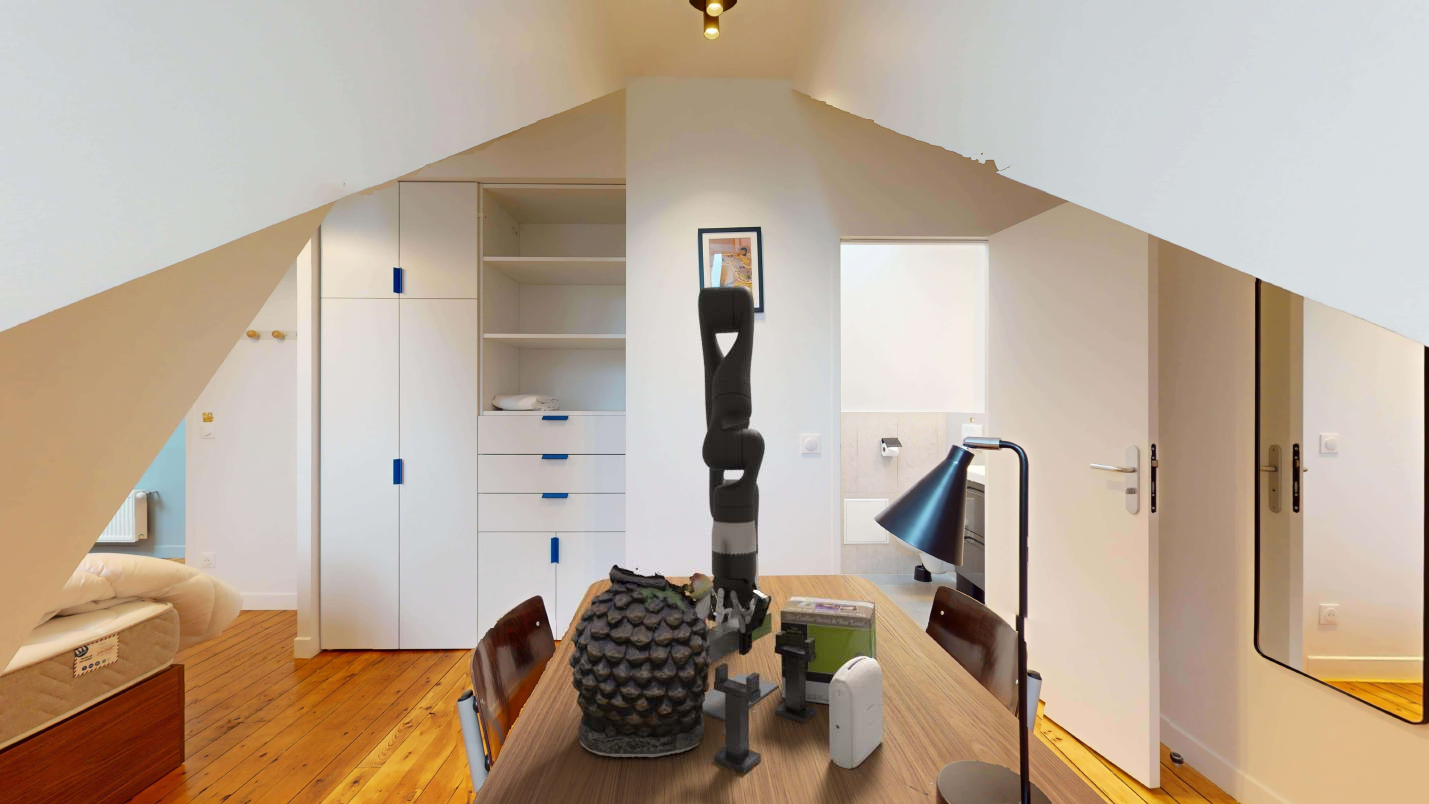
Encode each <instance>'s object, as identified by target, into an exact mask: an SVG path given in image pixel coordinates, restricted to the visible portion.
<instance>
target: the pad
mask: <svg viewBox="0 0 1429 804" xmlns="http://www.w3.org/2000/svg"><path fill="white" fill-rule="evenodd" d="M749 675H750V674H747V673H742V672H740V673H738V674H736V675H735V676H733V677H732V678H730V680H733V681H736V682H739V683H743V684H746V677H748V676H749ZM777 687H778V688H779V687H780V685H779V684H778V683H775V682H772V681H769V680H765V679H763V678H759V689H761V697H760V698H758V699H757V700H756V701H754V702H753V703H752V702H749V708H750V707H752V706H753V705H755V704H757V703H758V702H759V701H761V700H762V699H764V698H765V697H766V696H768V695H770V694H771V693H773V692H774V691H776V690H777V689H778V688H777ZM776 688H777V689H776ZM701 714H705V715H708V716H710V717H714V718H716V719H718V720H720V721H724V722H725V693H723V692H720V691H717V690H714V688H713V689H711V690H709V691H707V692H705V701H704V702H703V711H702V713H701Z"/></svg>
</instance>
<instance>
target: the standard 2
mask: <svg viewBox="0 0 1429 804" xmlns="http://www.w3.org/2000/svg"><path fill="white" fill-rule="evenodd" d="M774 635H775V646H774V654H777V655H780V656H781V655H784V656H785V698H784V699H785V701H784V702H783V703H781V704H780V705H779V706H777V707H776V708H775V712H774V714H775V715H776V716H779V717H783V718H785V719H789V720H791V721H795V722H798V723H800V724H803V725H804V724H806V723H807V722H808V721H809V720H810V719H812V718H813V717H814V716H815V715H816V714H817V708H816V707H813V706H810V705H807V703H806V702H807V701H806V670H805V661H806V662H809V663H811V662H812V661H814V660H815V659H816V652H815V639H814V638H809V639H808V640H806V641H804V649H803V648H799V647H795V646H791V645H787V644H786V631H781V630H780V631H779V632H777V633H775V634H774Z"/></svg>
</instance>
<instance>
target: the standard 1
mask: <svg viewBox="0 0 1429 804" xmlns="http://www.w3.org/2000/svg"><path fill="white" fill-rule="evenodd" d="M748 675H749V676H748V677H746V684H743V683H739V682H736V681H733V680H730V679H731V678H730V679H729V664H728V663H725V662H722V663H721V664H719V665H716V666H715V667H714V681H713V689H714V690H717V691H720V692H723V693H725V721H724V724H725V725H724V728H725V729H724V731H725V734H724V737H725V739H724V740H725V741H724V742H725V743H724V744H725V746H724V747H722V748H720V750H718V751H717V752H716V753H714V754H713V762H715V763H717V764H719V765H721V766H724V767H726V768H728V769H731V770H733V771H735V772H737V773H740V774H742V775H745V774H746V773H747V772H749V771H750V770H751V769H752V768H754V767H755V766H756V765H757V764H759V762H760V761H761V760H762V756H761V755H762V754H761V753H759V752H756V751H753V750H751V749H750V730H749V729H750V728H749V727H750V721H749V720H750V717H749V716H750V714H749V712H750V710H749V709H750V707H749V702H752V703H753V702H754V701H756V700H757V699H758V698H760V697H761V689H759V679H760V673H758V672H753V673H751V674H748Z"/></svg>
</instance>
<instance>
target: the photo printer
mask: <svg viewBox="0 0 1429 804" xmlns="http://www.w3.org/2000/svg"><path fill="white" fill-rule="evenodd" d="M883 697H884V695H883V670H882V668H881V665H880V664H879V662H878V660H877V661H876V660H875V659H873V658H869V657H866V656H860V657H856V658H854V659H852V660H850V661H848V662H847V663H846V664H844V665H843V666H842V667H841V668H840V669H839V670H838V671H837V673H836V674H835V675H834V677H833V678H832V680H831V683H830V686H829V704H828V705H829V706H828V712H829V718H828V719H829V757H830V759H831V760H832V761H833V763H834V764H835V765H837V766H838V767H840V768H843V769H852V768H853V769H855V768H856V767H858V766H859V765H861V763H862V762H863V761H865V760H866V759H867V758H868V757H869V755H871V754H872V753H873V752H874V751H875V750H876V749H877V748H878V746H879V745H880V744H881V743H882V740H883V737H884V711H883V710H884V709H883V708H884V707H883V706H884V704H883V702H884V701H883V700H884V699H883Z"/></svg>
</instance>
